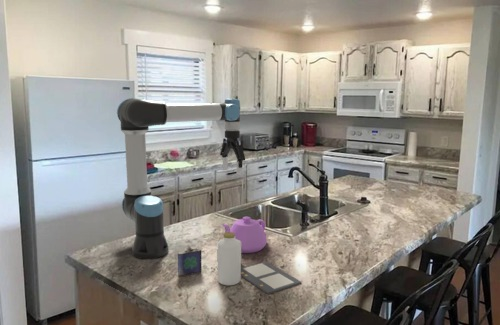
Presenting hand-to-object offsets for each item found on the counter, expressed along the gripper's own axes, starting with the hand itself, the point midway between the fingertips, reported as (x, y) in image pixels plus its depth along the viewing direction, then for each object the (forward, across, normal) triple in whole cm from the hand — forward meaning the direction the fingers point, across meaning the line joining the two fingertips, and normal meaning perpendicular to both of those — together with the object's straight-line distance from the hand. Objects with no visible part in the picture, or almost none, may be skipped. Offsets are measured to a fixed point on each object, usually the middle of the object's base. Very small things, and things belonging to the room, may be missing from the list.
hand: (232, 171), depth 210 cm
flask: (+28, -41, +44) cm, 66 cm away
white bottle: (+28, -55, +35) cm, 71 cm away
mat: (+28, -60, +22) cm, 69 cm away
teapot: (+28, -30, +12) cm, 43 cm away
